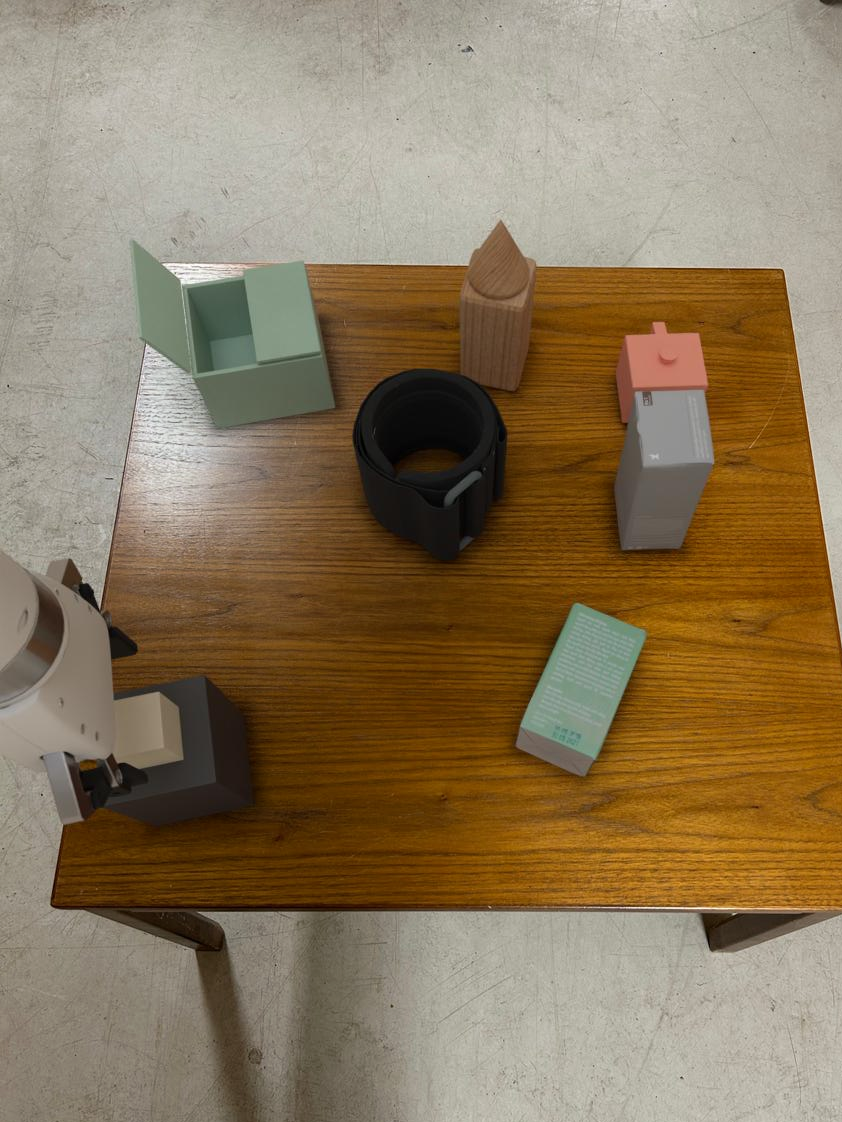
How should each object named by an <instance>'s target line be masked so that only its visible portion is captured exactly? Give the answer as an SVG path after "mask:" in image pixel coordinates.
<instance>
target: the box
mask: <svg viewBox="0 0 842 1122" xmlns="http://www.w3.org/2000/svg"><path fill="white" fill-rule="evenodd" d="M570 608H571V609H570V611H569V613H568V615H567V617H566V620H565V622H564V625H563V626H562V629H561V631H560V633H559V635H558V638H557V640H556V642H555V644H554V647H553V649H552V651H551V653H550V656H549V658H548V660H547V663H546V665H545V667H544V669H543V671H542V673H541V676H540V678H539V680H538V682H537V685H536V687H535V689H534V691H533V693H532V695H531V698H530V700H529V703H528V705H527V707H526V709H525V711H524V714H523V716H522V718H521V721H520V724H519V728H518V734H517V737H516V740H515V741H516V742H515V747H516V749H519V750H520V751H523V752H525V753H527V754H529V755H531V756H534V757H536V758H538V759H541V760H543V761H545V762H547V763H549V764H551V765H553V766H556V767H558V768H560V769H562V770H565V771H567V772H570V773H572V774H574V775H577V776H579V777H587V776H588V773H589V771H590V770H591V768H592V766H593V765H594V763H595V761H596V760H597V758H598V757H599V755H600V753H601V750H602V748H603V745H604V743H605V740H606V738H607V736H608V733H609V731H610V728H611V726H612V723H613V721H614V718H615V716H616V714H617V711H618V709H619V706H620V703H621V701H622V698H623V696H624V693H625V691H626V688H627V686H628V684H629V681H630V679H631V676H632V674H633V671H634V669H635V666H636V664H637V661H638V658H639V656H640V654H641V651H642V648H643V646H644V644H645V642H646V640H647V638H648V637H647V635H648V634H647V632H646V630H645V629H643V628H640V627H637V626H634V625H632V624H630V623H628V622H626V621H622V620H620V619H619V618H618V619H617V618H616V617H613V616H611V615H608V614H606V613H604V612H602V611H599V610H596V609H593V608H591V607H589V606H587V605H584V604H582V603H580V602H574V603H573V605H572V606H571V607H570Z"/></svg>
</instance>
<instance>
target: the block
mask: <svg viewBox="0 0 842 1122" xmlns="http://www.w3.org/2000/svg"><path fill="white" fill-rule="evenodd" d="M114 713H115V746H114V749H113V751H112V753H113V755H114V757H115V760H116V762H117V763H123V762H124V763H128V764H130V765H132V766H134V767H136V768H138V769H142V768H147V767H151V766H156V765H161V764H166V763H170V762H175V761H180V760H183V759H184V758H183V748H182V737H181V727H180V716H179V707H178V706H176V705H175V704H174V703H173V702H171V701H170V700H169V699H168V698H166V697H165V696H164V695H162V694H161V693H160V692H155V693H150V694H145V695H140V696H135V697H130V698H125V699H120V700H115V701H114Z"/></svg>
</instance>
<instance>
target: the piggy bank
mask: <svg viewBox="0 0 842 1122" xmlns="http://www.w3.org/2000/svg"><path fill="white" fill-rule="evenodd" d="M665 323H666V322H665V321H652V323H651V326H650V330H649V333H648V334H626V335H624V339H623V342H622V346H621V349H620V353H619V358H618V361H617V364H616V369H615V379H616V388H617V395H618V401H619V409H620V410H619V411H620V417H621V423H622V424H628V421H629V416H630V412H631V407H632V402H633V398H634V394H635V392H639V391H677V390H704V392H705V393H706V392H707V389H708V387H709V381H708V376H707V371H706V365H705V361H704V355H703V349H702V343H701V337H700V332H680V333H679V332H677V333H674V332H673V333H668V330H667V327H666V324H665Z"/></svg>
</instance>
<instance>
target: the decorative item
mask: <svg viewBox="0 0 842 1122" xmlns="http://www.w3.org/2000/svg"><path fill="white" fill-rule="evenodd" d="M537 268H538V265H537V262H536V259H535V258H533V257H527V256H524V254H523V253H522V251H521V250H520V248H519V246H518V244H517V243H516V241H515V240H514V238H513V237H512V235H511V233H510V232H509V230H508V228H507V226H506V225H505V222H503V220H502V219H500V220H499V221H498V222H497V224H496V225H495V227H494V228H493V229H492V231H491V232H490V233H489V234H488V236H487V238H485V240H484V241H483V243H482V244H481V245H480V247H479V248H475V249H474V250H473V252H472V253H471V256H470V259H469V263H468V265H467V269H466V273H465V276H464V279H463V281H462V286H461V289H460V293H459V340H460V341H459V349H460V350H459V352H460V353H459V354H460V355H459V357H460V358H459V359H460V360H459V361H460V375H463V376H467V377H468V378H470V379H472V380H474V381H476V382H478V383H479V384H480V385H481V386H482V387H488V388H492V389H498V390H503V391H506V392H507V391H509V392H516V391H517V390H518V388H519V387H520V383H521V379H522V375H523V371H524V368H525V364H526V360H527V357H528V352H529V348H530V338H531V328H532V320H533V319H532V318H533V310H534V297H535V291H536V290H535V288H536V279H537Z"/></svg>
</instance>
